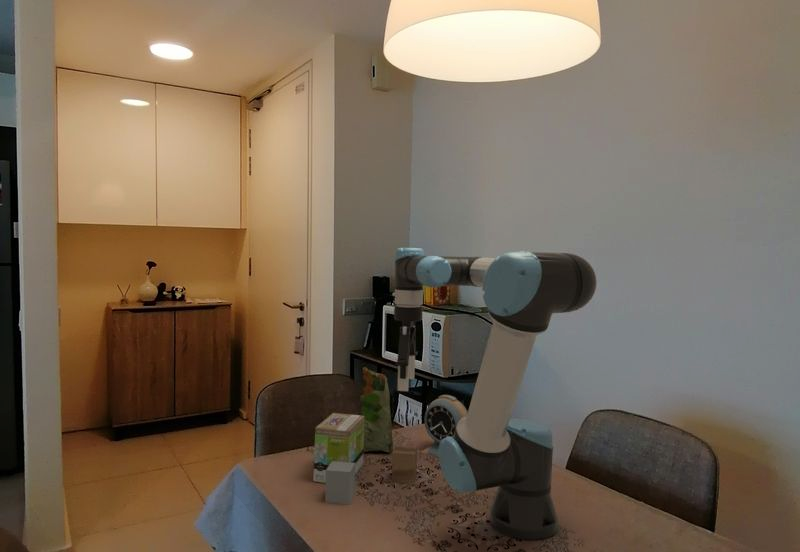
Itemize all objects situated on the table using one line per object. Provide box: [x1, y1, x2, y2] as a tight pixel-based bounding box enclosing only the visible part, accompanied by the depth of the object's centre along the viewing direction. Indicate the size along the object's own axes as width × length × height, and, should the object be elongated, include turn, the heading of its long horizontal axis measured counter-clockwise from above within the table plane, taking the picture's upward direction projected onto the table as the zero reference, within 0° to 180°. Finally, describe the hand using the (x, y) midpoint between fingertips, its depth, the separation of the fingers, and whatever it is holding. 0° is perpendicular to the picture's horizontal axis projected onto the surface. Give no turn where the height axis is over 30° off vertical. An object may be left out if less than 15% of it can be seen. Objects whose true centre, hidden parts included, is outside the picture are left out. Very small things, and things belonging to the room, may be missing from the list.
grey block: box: [324, 461, 356, 505], centre depth 139 cm, size 6×6×8 cm
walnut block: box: [391, 444, 418, 485], centre depth 152 cm, size 6×6×8 cm
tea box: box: [313, 412, 365, 484], centre depth 155 cm, size 15×10×15 cm, turn 168°
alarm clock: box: [420, 394, 468, 459], centre depth 173 cm, size 14×10×18 cm
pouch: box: [360, 366, 394, 453], centre depth 173 cm, size 11×12×25 cm
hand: (406, 384), depth 152 cm, fingers open, 13 cm apart
